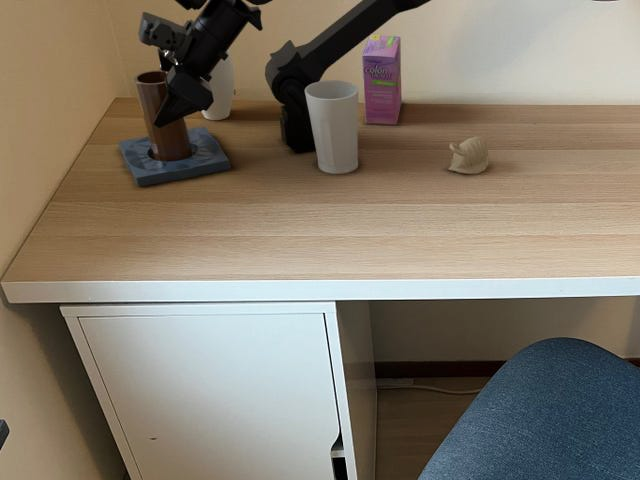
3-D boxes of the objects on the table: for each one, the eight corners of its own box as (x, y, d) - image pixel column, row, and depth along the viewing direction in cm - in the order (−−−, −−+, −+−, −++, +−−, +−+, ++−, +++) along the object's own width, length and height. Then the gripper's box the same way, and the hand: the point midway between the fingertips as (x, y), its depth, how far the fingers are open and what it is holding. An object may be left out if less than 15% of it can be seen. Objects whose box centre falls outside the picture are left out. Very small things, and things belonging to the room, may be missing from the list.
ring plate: (207, 134, 131) (206, 125, 130) (232, 169, 122) (230, 160, 121) (118, 150, 126) (116, 141, 125) (137, 188, 117) (134, 178, 116)
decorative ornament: (495, 167, 126) (497, 135, 123) (455, 181, 122) (455, 149, 118) (479, 158, 128) (481, 127, 125) (439, 171, 124) (439, 139, 121)
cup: (371, 159, 127) (367, 85, 119) (348, 180, 121) (342, 103, 113) (328, 150, 129) (321, 76, 121) (303, 170, 123) (294, 94, 115)
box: (397, 125, 137) (395, 56, 129) (365, 124, 137) (360, 54, 129) (402, 102, 145) (400, 35, 137) (372, 101, 144) (368, 34, 136)
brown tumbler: (201, 158, 125) (183, 76, 116) (172, 171, 121) (151, 87, 112) (176, 148, 127) (157, 67, 118) (147, 161, 123) (125, 78, 115)
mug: (243, 106, 141) (232, 40, 133) (238, 124, 135) (225, 57, 127) (175, 106, 140) (160, 40, 132) (166, 125, 133) (149, 57, 126)
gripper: (158, -26, 115) (100, 58, 119) (170, 12, 103) (105, 104, 107) (222, 26, 123) (166, 103, 127) (241, 67, 110) (177, 151, 114)
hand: (153, 113), depth 119 cm, fingers open, 9 cm apart
